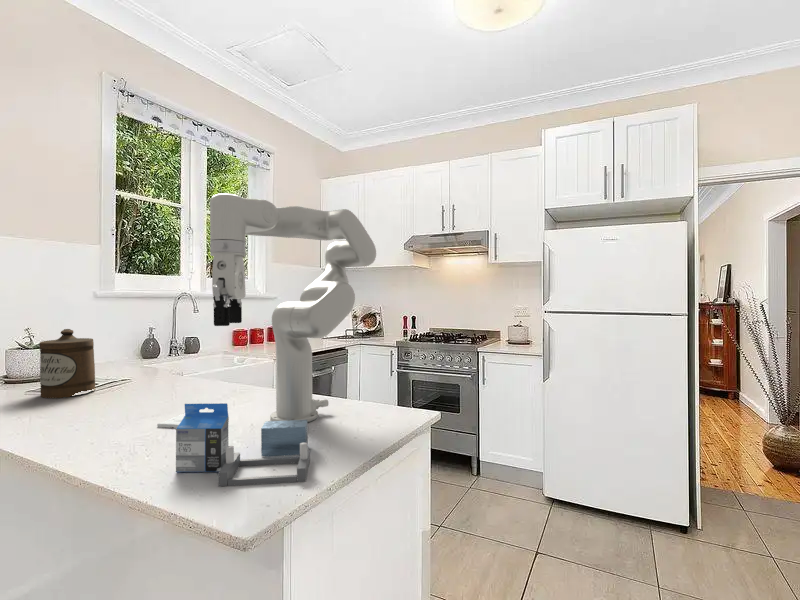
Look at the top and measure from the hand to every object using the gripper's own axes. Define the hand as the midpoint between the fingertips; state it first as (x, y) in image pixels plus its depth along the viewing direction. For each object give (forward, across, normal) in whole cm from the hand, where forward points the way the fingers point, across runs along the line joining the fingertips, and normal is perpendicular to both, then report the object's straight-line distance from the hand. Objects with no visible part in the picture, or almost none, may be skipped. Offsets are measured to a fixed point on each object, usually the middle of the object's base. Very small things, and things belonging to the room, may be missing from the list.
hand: (228, 324), depth 100 cm
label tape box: (+27, -16, 0) cm, 32 cm away
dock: (+27, -19, -13) cm, 35 cm away
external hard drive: (+28, +17, +16) cm, 36 cm away
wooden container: (+27, +55, +69) cm, 92 cm away
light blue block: (+27, -8, -14) cm, 31 cm away
